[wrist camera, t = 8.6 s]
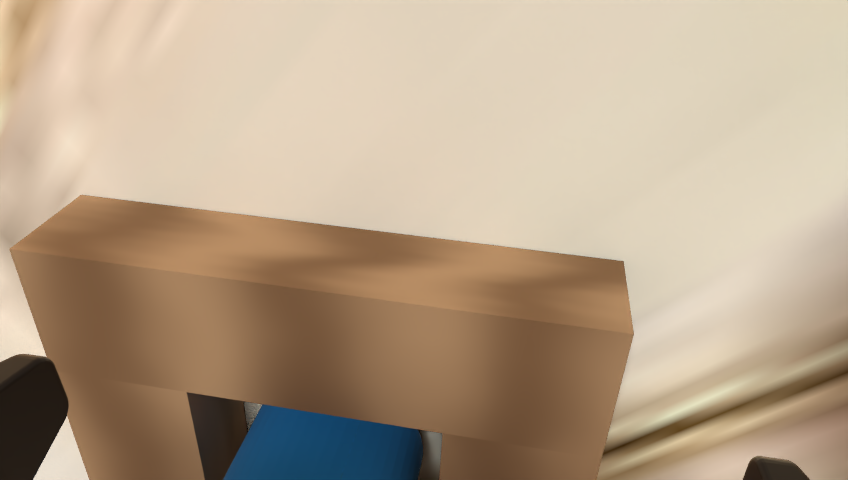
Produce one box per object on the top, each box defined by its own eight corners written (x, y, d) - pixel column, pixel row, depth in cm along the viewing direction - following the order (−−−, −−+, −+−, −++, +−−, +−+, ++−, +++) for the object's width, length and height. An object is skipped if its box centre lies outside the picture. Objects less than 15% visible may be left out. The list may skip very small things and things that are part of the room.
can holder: (623, 261, 20) (633, 334, 17) (545, 596, 30) (543, 680, 27) (81, 194, 23) (9, 249, 20) (169, 525, 32) (129, 595, 29)
